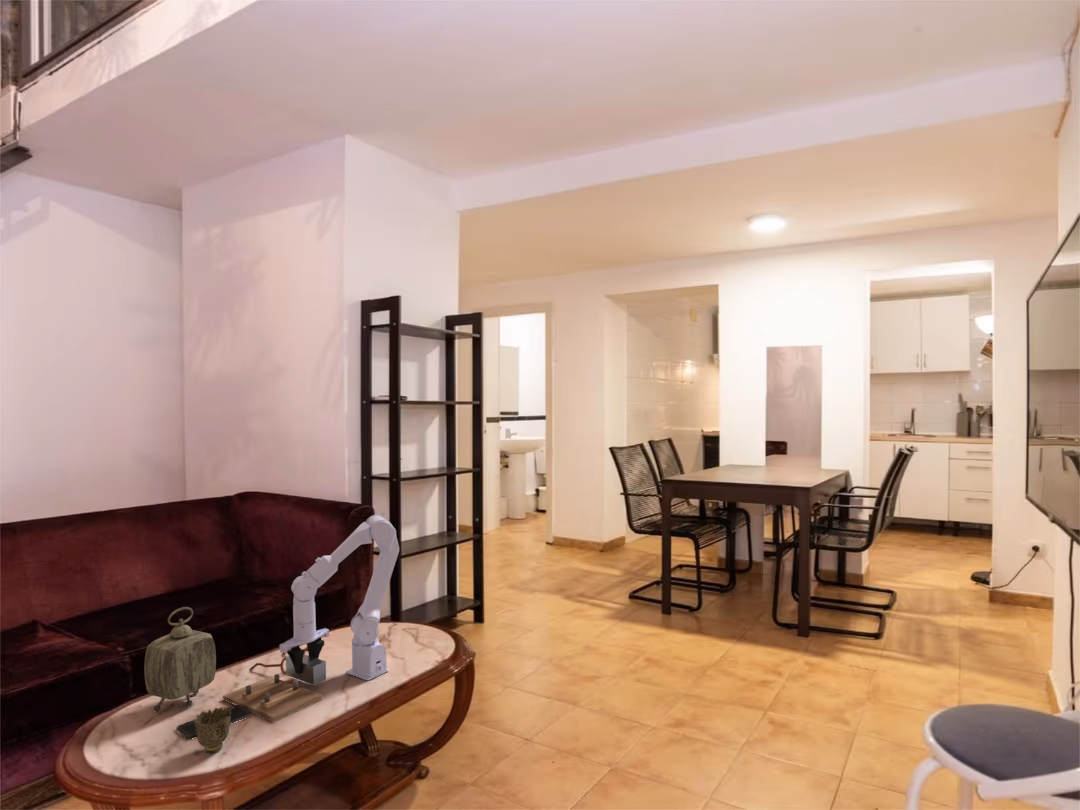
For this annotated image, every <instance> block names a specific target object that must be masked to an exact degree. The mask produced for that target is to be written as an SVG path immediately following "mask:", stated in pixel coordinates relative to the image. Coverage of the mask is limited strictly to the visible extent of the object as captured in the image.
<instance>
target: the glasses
mask: <svg viewBox="0 0 1080 810" xmlns="http://www.w3.org/2000/svg"><path fill="white" fill-rule="evenodd" d="M301 649H302V648H301ZM302 650H304V651H305V652H304V654H305V655H306V652H308V648H307V646H305V648H303V649H302ZM286 654H288V653H287V652H286V653H282V655H286ZM286 657H287V656H285V657H283V658H282V660H281V662H280V663H274V664H265V663H262V662H256V663H255V664H254V665H252V666H251V667H250V668H249V670H250V669H252V670H254V669H255V668H257V666H259V667H260V666H261V667H263V668H278V667H280V671H281V673H282V674H283V675H286V670H285V669H284V662H286Z"/></svg>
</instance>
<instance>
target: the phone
mask: <svg viewBox="0 0 1080 810" xmlns="http://www.w3.org/2000/svg"><path fill="white" fill-rule="evenodd" d="M226 709H227V711H228V710H229V709H230V710H231V719H230V724H231V723H234V722H236V721H239V720H242V719H245V718H247V717H249V718H251V716H250V715H251V712H249V711H248V710H246V709H245V708H243V707H242V706H240V705H233V706H229V707H227V708H226ZM194 719H195V718H194ZM194 719H192V720H190V721H188V722H184V723H182V724H178V725H177V726H176V732H177V731H178V732H179V733H180V734H181V735H180V734H179V733H178V732H177V733H178V734H179V735H180V736H182V737H183V738H184V737H185V738H186V739H185V738H184V739H185V740H187V739H190V740H193V739H192V738H194V737H196V738H197V735H196V729H195V723H194ZM247 719H248V718H247ZM195 720H197V718H196V719H195ZM245 720H246V719H245ZM242 721H243V720H242ZM239 722H240V721H239ZM234 724H235V723H234ZM231 725H232V724H231ZM194 739H195V738H194Z"/></svg>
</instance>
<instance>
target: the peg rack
mask: <svg viewBox="0 0 1080 810" xmlns="http://www.w3.org/2000/svg"><path fill="white" fill-rule="evenodd" d="M298 685H299V684H298V680H293V681H292V683H290V682H287V681H285V680H282V679H280V674H279V673H275V674H274V676H272V675H271V676H269V677H265V678H263V679H261V680H258V681H256V682H254V683H250V684H248V685H245V686H243V687H241V688H239V689H236V690H233V691H231V692H228V693H225V694H223V695H222V700H223V699H224V700H227V701H229V702H231V703H234V704H236V705H240V706H242V707H243V708H245V709H246V710H248V711H250V713H251V712H253V713H252V714H254V715H256V714H257V715H256V716H258V715H260V716H261V718H263V717H264V718H263V719H265V718H266V720H267V719H269V720H268V721H270V720H271V721H270V722H272V721H273V722H272V723H275V722H277V721H279V720H278V719H280V718H282V717H284V718H286V717H288V716H290V715H293V714H295V713H296V711H297V712H299V711H301V710H303V709H305V708H307V706H308V707H310V706H312V705H313V703H314V704H316V703H319V702H320V701H323V695H322V694H319V693H316V692H314V691H311V690H309V689H306V688H303V687H300V686H298ZM224 700H223V701H224ZM319 700H320V701H319ZM229 702H228V703H229ZM315 702H316V703H315ZM231 703H230V704H231ZM311 704H312V705H311ZM309 705H310V706H309ZM302 708H303V709H302ZM300 709H301V710H300ZM298 710H299V711H298ZM294 712H295V713H294ZM292 713H293V714H292ZM289 714H290V715H289ZM287 715H288V716H287ZM260 716H259V717H260ZM285 716H286V717H285ZM282 719H283V718H282ZM276 720H277V721H276ZM280 720H281V719H280ZM274 721H275V722H274Z"/></svg>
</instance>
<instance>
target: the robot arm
mask: <svg viewBox="0 0 1080 810" xmlns="http://www.w3.org/2000/svg"><path fill="white" fill-rule="evenodd" d="M372 539H373V540H372ZM373 541H374V542H375V544H376V546H377V547H378V549H379V551H380V552H379V554H378V557H377V560H376V563H375V567H374V570H373V572H372V576H371V579H370V582H369V585H368V587H367V590H366V593H365V597H364V599H363V603H362V604H361V605H360V607H359V608H358V610H357V612H356V614H355V615H354V616H353V617H352V619H351V621H350V629H351V631H352V633H353V634H354V635H353V637H352V639H351V667H352V668H351V669H349V670H346V671H345V674H346V673H347V675H349V674H350V676H352V675H353V676H354V677H355V676H356V678H358V677H359V679H361V678H362V680H365V681H370V680H372V679H375V678H377V677H378V676H380V675H383V674H384V673H385V674H386V673H387V672H389V670H390V669H389V668H387V649H386V647H385V646H384V645H383V644H381V643H380V641H379V639H378V638H379V637H378V636H379V634H380V629H379V625H380V624H379V623H380V621H381V615H380V614H381V608H382V604H383V601H384V599H385V596H386V593H387V591H388V590H387V589H388V586H389V585H390V584H389V583H390V580H391V578H392V575H393V571H394V568H395V565H396V562H397V560H398V555H399V552H400V546H399V542H398V541H399V540H398V538H397V530H396V528H395V527H394V526H393V524H392V523H391V522H390V521H388V520H387V519H385V518H384V517H383V516H382V515H379V514H373V515H371V516H369V517H368V518H367V519H366V521H363V522H362V523H361V524H359V525H358V527H357V528H355V530H354V531H353V532H351V533H350V535H349V536H348V537H347V538H346V539H345V540H344V541H343V542H342V543H341V544H340V545H339V546H338V547H337V548H336V549H335V550H334V551H333V552H331V554H330V555H323V556H321V557H319V556H318V557H317V558H316V559H315V563H314V564H312V566H310V567H309V568H308V569H307V570H306V571H304V570H303V572H301V575H300V576H299V575H298V576H297V577H296V578H295V579H294V580H293V582H292V584H291V586H290V589H291V592H292V593H293V604H292V612H293V613H292V614H293V615H292V616H293V617H292V618H293V637H292V638H289V639H288V640H286V641H284V642H282V643H281V644H279V652H280V653H282V654H283V653H286V652H287V653H286V654H287V655H288V656H289V657H290V658H291V660H292V663H293V666H294V669H295V673H297V674H302V670H303V655H304V652H305V651H304V650H302V647H301V646H305V645H306V647H307V648H308V651H307V652H308V656H311V657H314V658H317V659H320V658H319V657H320V655H321V652H322V650H323V647H325V640H324V639H322V638H329V637H330V629H329V628H326V627H324V628H321V629H318V630H317V626H316V625H317V624H316V623H317V621H316V602H315V596H316V594H317V591H318V588H321V586H323V585H324V584H326V582H327V581H328V580H329V579H330V578H331V577H332V576H333V575H334V574H335V573H336V572H338V569H339V564H340V563H341V562H342V561H344V560H345V559H346V558H347V557H348V556H349V555H350V554H352V553H353V552H354V551H355V550H356V549H357V548H359V546H361V545H367V544H368V545H369V544H373ZM305 653H306V652H305Z"/></svg>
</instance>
